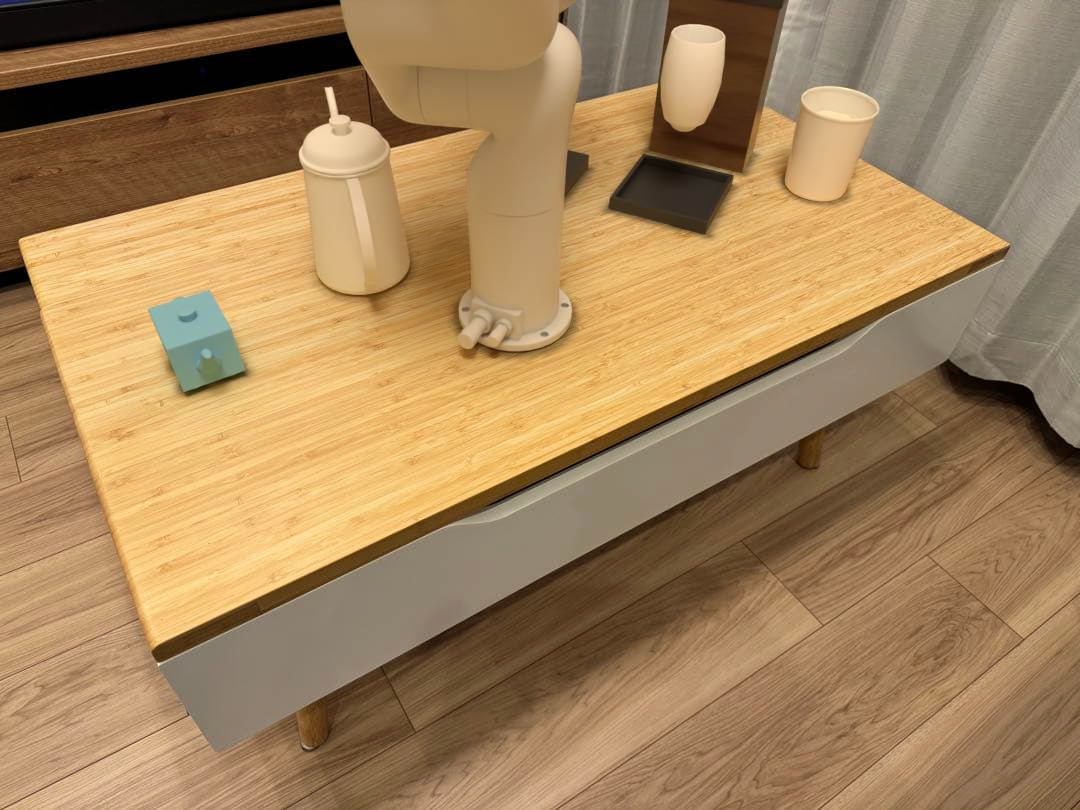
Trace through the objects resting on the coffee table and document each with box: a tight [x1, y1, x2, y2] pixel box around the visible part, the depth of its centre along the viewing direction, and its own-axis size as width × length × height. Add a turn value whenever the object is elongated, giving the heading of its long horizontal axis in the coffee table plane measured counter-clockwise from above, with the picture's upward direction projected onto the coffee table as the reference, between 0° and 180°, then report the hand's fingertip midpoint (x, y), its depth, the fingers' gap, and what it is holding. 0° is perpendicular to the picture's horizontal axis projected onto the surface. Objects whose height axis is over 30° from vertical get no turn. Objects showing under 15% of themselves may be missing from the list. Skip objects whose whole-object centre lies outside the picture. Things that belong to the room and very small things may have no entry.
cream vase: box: [661, 24, 725, 132], centre depth 97 cm, size 7×7×21 cm
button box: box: [564, 149, 590, 198], centre depth 106 cm, size 12×10×4 cm
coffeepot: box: [298, 86, 411, 296], centre depth 86 cm, size 11×25×19 cm, turn 17°
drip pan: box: [608, 153, 735, 235], centre depth 105 cm, size 13×13×2 cm
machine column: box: [648, 0, 790, 174], centre depth 106 cm, size 6×14×24 cm, turn 65°
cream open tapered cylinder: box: [784, 85, 880, 202], centre depth 104 cm, size 10×10×12 cm
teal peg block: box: [147, 289, 246, 393], centre depth 77 cm, size 12×6×8 cm, turn 33°
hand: (549, 65), depth 93 cm, fingers closed
